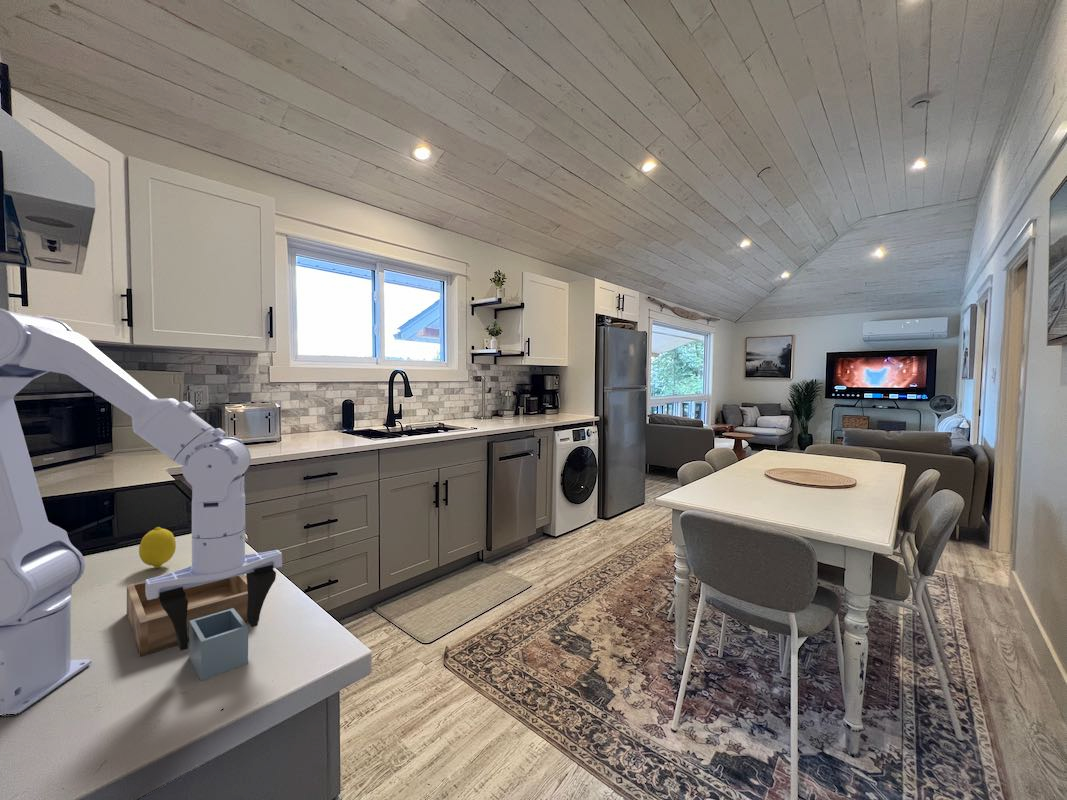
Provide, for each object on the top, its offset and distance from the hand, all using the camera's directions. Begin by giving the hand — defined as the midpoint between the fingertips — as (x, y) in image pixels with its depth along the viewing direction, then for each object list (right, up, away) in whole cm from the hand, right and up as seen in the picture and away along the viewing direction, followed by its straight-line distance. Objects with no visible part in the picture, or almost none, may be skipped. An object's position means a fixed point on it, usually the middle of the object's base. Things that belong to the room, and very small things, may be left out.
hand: (219, 634), depth 59 cm
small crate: (0, -4, 0) cm, 4 cm away
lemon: (-32, -2, +29) cm, 44 cm away
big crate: (-12, -3, +11) cm, 16 cm away
